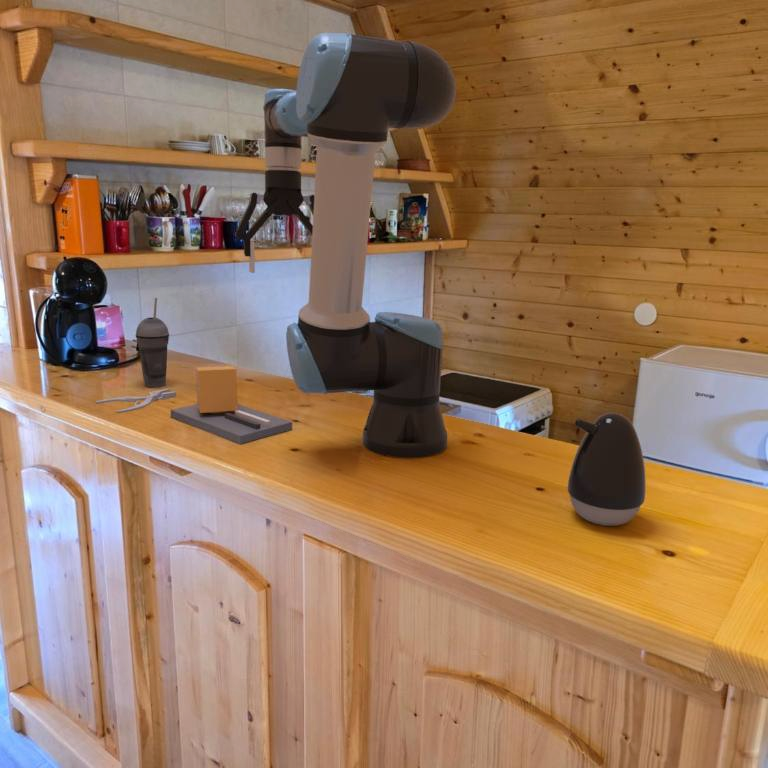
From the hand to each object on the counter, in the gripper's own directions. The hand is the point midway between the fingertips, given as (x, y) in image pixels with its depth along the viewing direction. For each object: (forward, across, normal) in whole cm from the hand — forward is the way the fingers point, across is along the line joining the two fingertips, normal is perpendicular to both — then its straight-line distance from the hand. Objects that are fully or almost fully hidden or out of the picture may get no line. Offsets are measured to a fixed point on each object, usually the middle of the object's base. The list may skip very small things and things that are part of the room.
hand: (283, 272), depth 150 cm
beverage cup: (+27, +28, -12) cm, 40 cm away
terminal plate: (+27, +14, +21) cm, 37 cm away
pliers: (+27, +31, +2) cm, 41 cm away
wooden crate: (+25, +16, +18) cm, 35 cm away
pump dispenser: (+27, -30, +76) cm, 86 cm away
